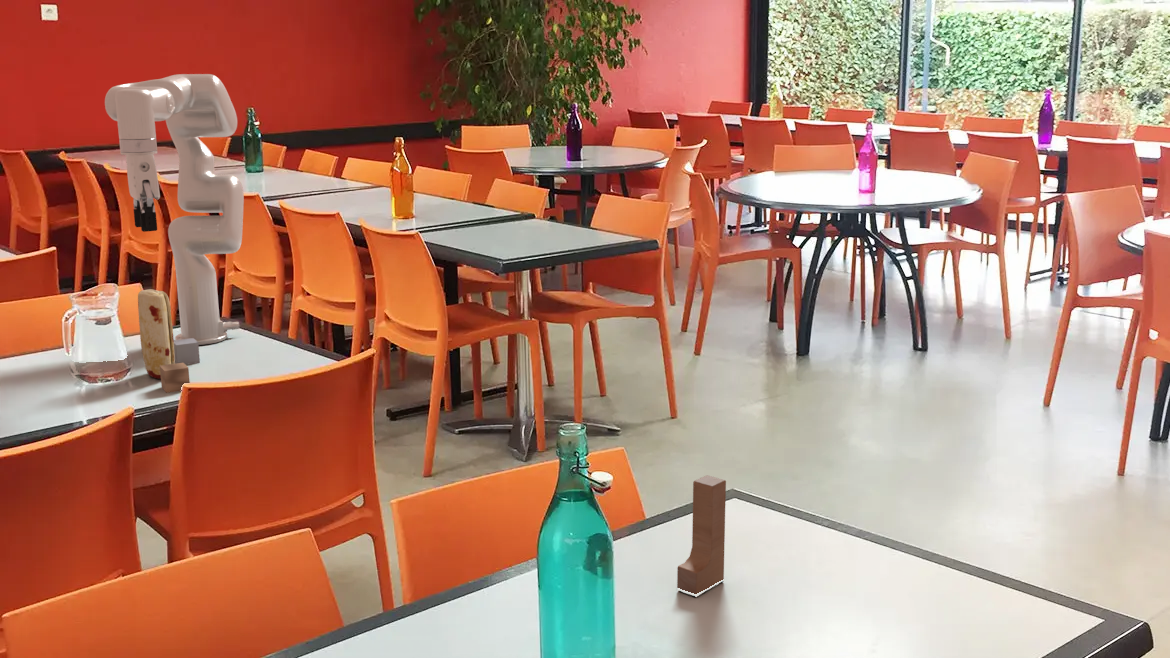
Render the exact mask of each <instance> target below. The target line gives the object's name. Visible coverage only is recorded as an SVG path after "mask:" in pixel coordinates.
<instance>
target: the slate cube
mask: <svg viewBox="0 0 1170 658" xmlns="http://www.w3.org/2000/svg"><path fill="white" fill-rule="evenodd" d="M199 347H200V345H198V342H197V341H196V340H195V339H194V338H190V339H182V340H175V339H174V354H175V364H177V363H184V364H185V365H186V366H187V365H193V363H194V364H198V363H199V364H200V363H201V359H200V348H199Z"/></svg>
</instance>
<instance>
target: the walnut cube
mask: <svg viewBox="0 0 1170 658" xmlns="http://www.w3.org/2000/svg"><path fill="white" fill-rule="evenodd" d="M160 374H161V379H160V383H161V388H162V389H163V390H164V392H165V393H166V394H169V393H175V392H181V391H180V390H181V387H182V385H183V384H184V383H190V384H191V381H190V369H189V367H188V366H187V364H186V365H185V364H184V363H177V364H176V363H175V364H169V365H162V366H160Z"/></svg>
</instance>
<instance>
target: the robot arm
mask: <svg viewBox="0 0 1170 658" xmlns="http://www.w3.org/2000/svg"><path fill="white" fill-rule="evenodd" d="M231 100H232V99H231V97H230V95H229V93H228V91H227V88H226V87H225V85H224V83H223V82H222V80H221V79H220V78H219V77H217V76H216V75H214V74H211V73H203V74H202V73H194V74H193V73H189V74H187V73H181V74H179V73H178V74H173V75H169V76H166V77H163V78H158V79H148V80H145V81H143V80H142V81H139V82H138V81H137V82H130V83H124V84H118V85H115V86H112V87H111V88H110V89H108V91H107V92H106V94H105V98H104V106H105V107H104V109H105V112H106V114H107V115H108V116H109V118H111V119H112V120H113V121H115V122H117V129H118V131H117V132H118V139H119V151H120V152H119V153H120V155H121V156H123V155H124V156H125V160H126V161H125V162H126V174H127V183H128V191H129V195H130V197H132V198H133V201H132V202H133V209H132V210H133V217H134V226H135V227H136V228H141V232H144V233H145V232H155V231H156V232H157V231H158V224H157V223H158V222H157V212H156V205H155V201H154V200H159V199H160V198H161V193H160V187H159V178H158V177H159V176H158V169H157V164H156V159H155V155H157V154H158V145H157V133H156V131H157V130H156V123H155V122H162V121H163V122H164V121H165V123H166V127H167V129H168V133H169V135H170V138H171V140H172V142H173V144H174V146H175V149H176V152H177V154H178V160H179V162H178V163H179V164H178V178H177V179H178V180H177V203H178V206H179V207H180V209H181V211H184V212H188V213H209V214H210V213H215V214H216V213H218V214H219V213H220V214H221V213H222V214H221V215H183V216H179V217H176V218H175V219H173V220H172V221H171V222H170V223H169V226H168V229H167V234H168V239H169V244H170V248H171V251H172V255H173V259H174V261H173V262H174V268H175V277H176V288H177V289H176V290H177V299H178V300H177V301H178V311H179V312H178V313H179V322H180V323H179V324H180V333H179V334H177V335H176V336H175V337H174V340H182V339H190V338H194V339H195V340H196V341H197V342H198V346H202V345H211V344H216V343H217V344H218V343H220V342H222V341H225V340H227V338H228V333H227V332H228V331H230V330H232V331H233V330H240V322H239V321H223V320H222V319H220V309H219V295H218V285H217V284H218V283H217V273H216V269H215V267H214V265H213V263H212V262H211V260H209V258H208V257H207V256H206V255H223V254H224V255H226V254H227V255H228V254H229V255H230V254H234V253H237V252H238V251H239V250H240V248H241V245H242V242H243V229H244V228H243V226H244V222H243V221H244V204H245V199H244V198H245V197H244V189H243V185H242V182H241V180H240V179H239V178H238V177H237V176H235V175H232V174H215V161H216V160H215V157H214V154H213V153H212V151H211V150H210V148H209V147H208V146H207V145H206V144H205V143H204V142H203V141H202V140H201V139H200V138H226V137H231V136H232V135H234V134H235V132H236V130H237V129H238V116H237V112H236V110H235V107H234V104H233V102H232V101H231Z"/></svg>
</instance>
